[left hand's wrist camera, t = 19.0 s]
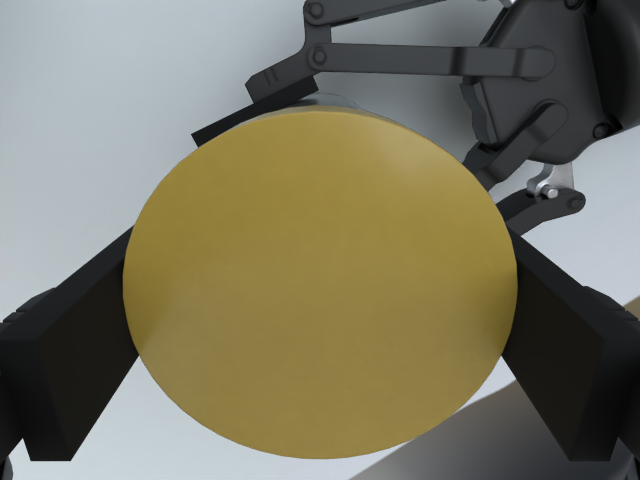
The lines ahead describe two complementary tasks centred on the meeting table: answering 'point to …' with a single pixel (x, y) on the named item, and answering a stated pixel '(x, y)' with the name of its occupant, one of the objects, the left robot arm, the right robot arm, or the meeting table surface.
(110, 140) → the meeting table surface
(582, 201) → the right robot arm
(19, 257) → the meeting table surface
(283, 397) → the lid
